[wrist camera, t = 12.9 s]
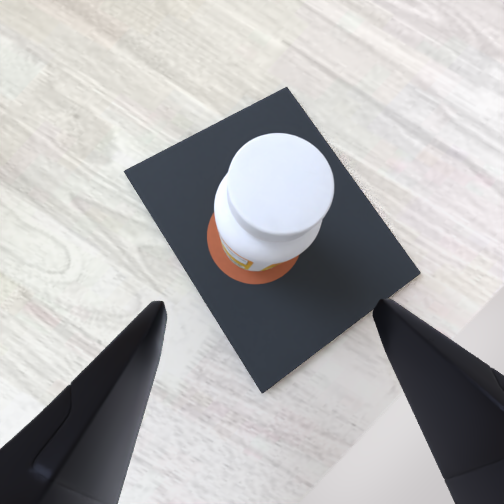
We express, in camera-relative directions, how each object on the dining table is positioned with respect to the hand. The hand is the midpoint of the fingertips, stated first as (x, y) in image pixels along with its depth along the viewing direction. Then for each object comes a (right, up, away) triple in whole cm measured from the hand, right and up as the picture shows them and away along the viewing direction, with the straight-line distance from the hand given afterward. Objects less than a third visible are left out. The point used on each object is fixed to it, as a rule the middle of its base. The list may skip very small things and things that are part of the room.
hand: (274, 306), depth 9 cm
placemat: (+1, +5, +9) cm, 10 cm away
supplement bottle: (-1, +3, +8) cm, 9 cm away
